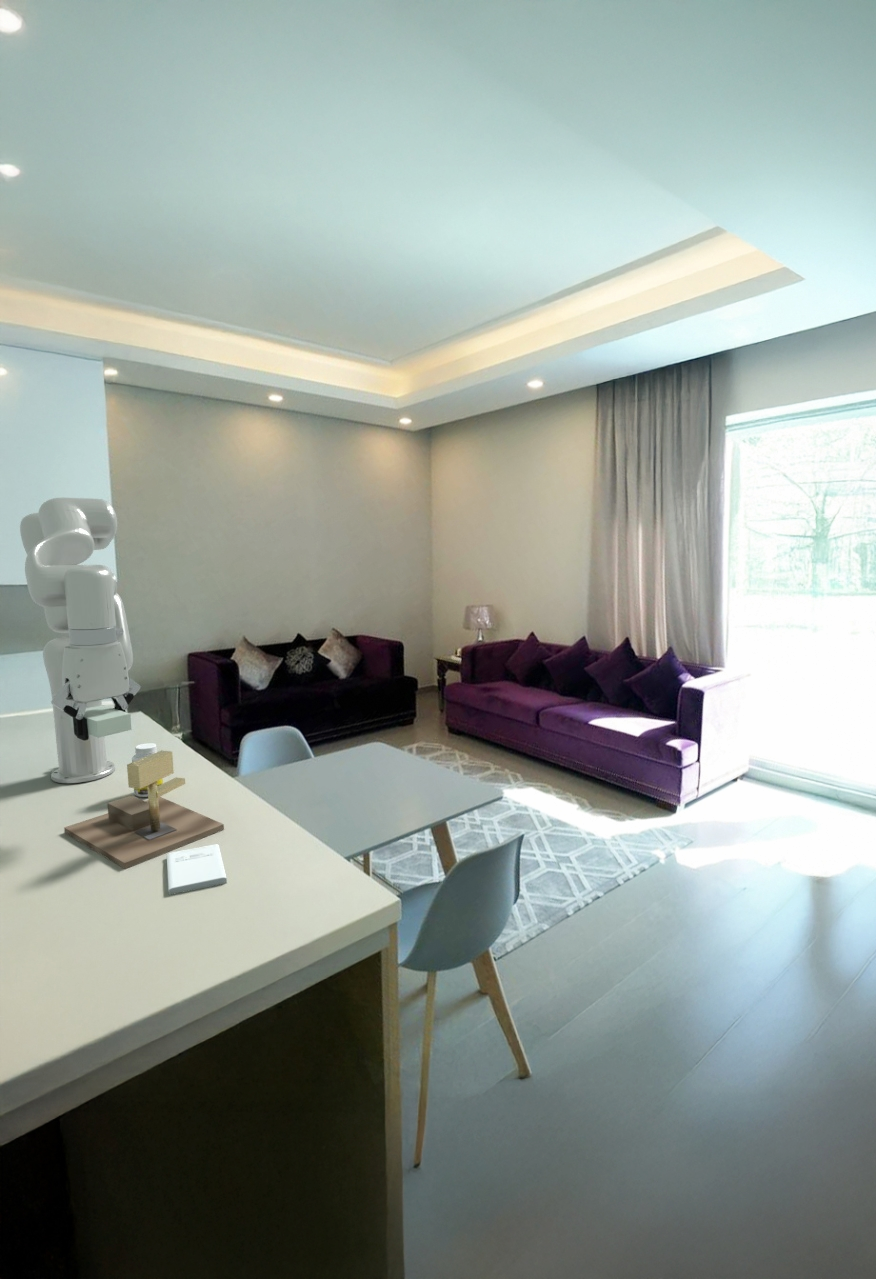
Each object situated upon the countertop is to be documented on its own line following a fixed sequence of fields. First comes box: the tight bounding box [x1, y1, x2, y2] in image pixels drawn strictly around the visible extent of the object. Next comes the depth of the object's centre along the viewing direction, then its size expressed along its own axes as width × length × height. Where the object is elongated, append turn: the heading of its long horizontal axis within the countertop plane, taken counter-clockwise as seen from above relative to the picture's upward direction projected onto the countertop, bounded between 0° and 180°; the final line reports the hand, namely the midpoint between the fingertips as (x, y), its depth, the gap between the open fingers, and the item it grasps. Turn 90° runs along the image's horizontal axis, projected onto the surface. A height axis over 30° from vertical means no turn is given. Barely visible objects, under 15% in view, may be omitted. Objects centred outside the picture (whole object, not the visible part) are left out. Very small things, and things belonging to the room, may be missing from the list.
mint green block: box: [70, 704, 132, 738], centre depth 117 cm, size 10×6×3 cm, turn 54°
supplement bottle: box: [131, 742, 164, 798], centre depth 133 cm, size 6×6×10 cm
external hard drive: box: [166, 843, 228, 896], centre depth 101 cm, size 2×8×12 cm
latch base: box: [63, 795, 225, 870], centre depth 115 cm, size 22×18×4 cm
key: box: [126, 749, 186, 830], centre depth 114 cm, size 11×2×13 cm, turn 161°
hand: (101, 733), depth 117 cm, fingers closed on mint green block, 6 cm apart
